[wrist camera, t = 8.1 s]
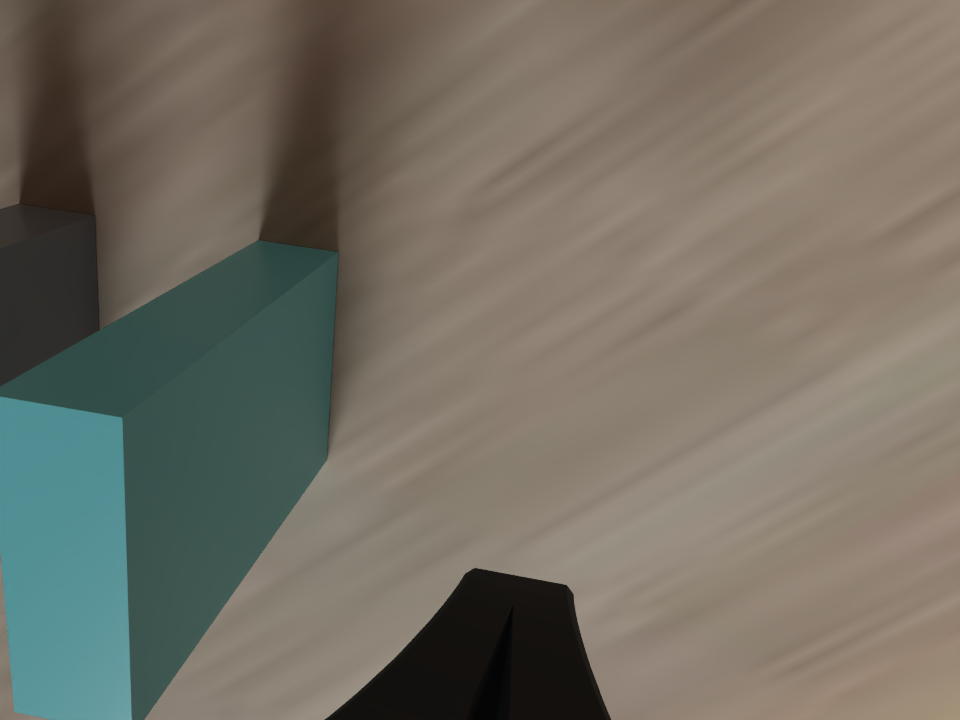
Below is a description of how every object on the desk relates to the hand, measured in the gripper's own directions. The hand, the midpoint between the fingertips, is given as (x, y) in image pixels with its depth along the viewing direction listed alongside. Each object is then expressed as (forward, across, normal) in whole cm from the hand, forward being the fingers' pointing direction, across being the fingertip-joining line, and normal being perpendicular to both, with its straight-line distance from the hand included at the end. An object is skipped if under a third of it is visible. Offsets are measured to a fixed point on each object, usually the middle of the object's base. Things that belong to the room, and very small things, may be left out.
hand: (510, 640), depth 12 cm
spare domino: (+9, +6, 0) cm, 10 cm away
